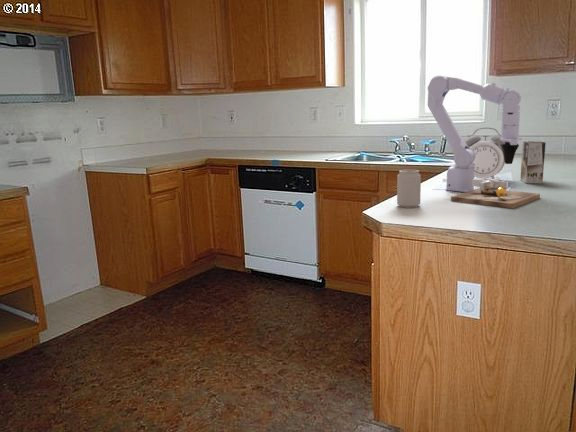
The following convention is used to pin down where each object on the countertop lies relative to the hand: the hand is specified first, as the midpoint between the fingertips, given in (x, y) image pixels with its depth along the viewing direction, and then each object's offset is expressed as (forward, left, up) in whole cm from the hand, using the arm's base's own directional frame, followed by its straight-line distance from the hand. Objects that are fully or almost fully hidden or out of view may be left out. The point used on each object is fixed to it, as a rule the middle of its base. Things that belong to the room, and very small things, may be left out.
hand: (508, 163), depth 175 cm
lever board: (+3, -15, -10) cm, 19 cm away
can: (-14, -41, -11) cm, 45 cm away
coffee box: (-2, +27, -11) cm, 29 cm away
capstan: (+1, -14, -9) cm, 17 cm away
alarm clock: (-19, +21, -11) cm, 30 cm away
